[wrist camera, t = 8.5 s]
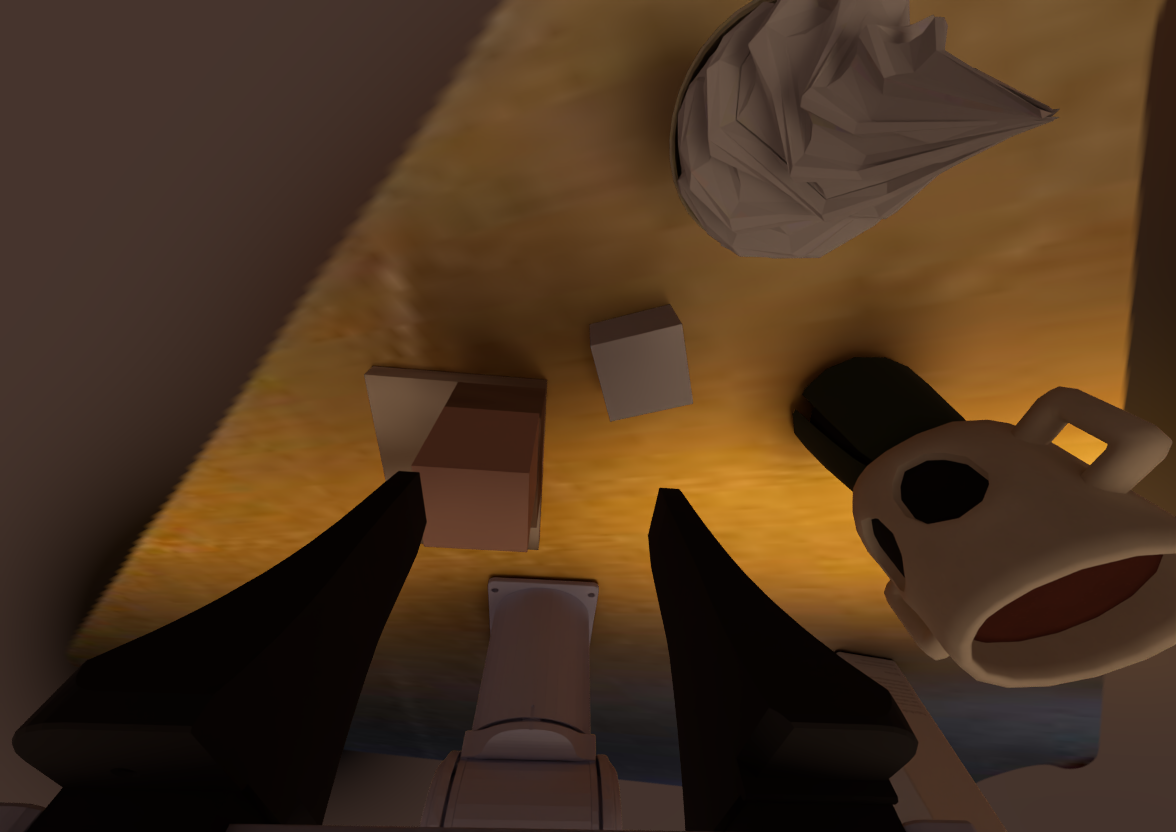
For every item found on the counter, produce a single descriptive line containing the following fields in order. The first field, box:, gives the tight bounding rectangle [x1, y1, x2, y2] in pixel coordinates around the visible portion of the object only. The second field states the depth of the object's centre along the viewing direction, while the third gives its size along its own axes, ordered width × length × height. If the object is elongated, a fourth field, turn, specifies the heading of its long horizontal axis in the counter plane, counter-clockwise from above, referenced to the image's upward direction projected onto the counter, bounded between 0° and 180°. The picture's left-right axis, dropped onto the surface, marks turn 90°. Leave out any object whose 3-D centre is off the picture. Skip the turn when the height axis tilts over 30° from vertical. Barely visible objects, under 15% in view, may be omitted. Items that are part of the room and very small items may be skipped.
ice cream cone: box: [669, 0, 1059, 258], centre depth 10 cm, size 5×5×15 cm
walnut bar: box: [445, 382, 546, 528], centre depth 22 cm, size 7×4×3 cm, turn 175°
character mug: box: [793, 357, 1176, 688], centre depth 18 cm, size 11×7×13 cm, turn 171°
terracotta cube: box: [411, 406, 539, 552], centre depth 18 cm, size 4×4×4 cm
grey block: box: [590, 304, 693, 421], centre depth 20 cm, size 4×4×3 cm
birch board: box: [364, 366, 547, 550], centre depth 25 cm, size 12×9×1 cm
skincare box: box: [836, 652, 1007, 832], centre depth 32 cm, size 6×4×12 cm
